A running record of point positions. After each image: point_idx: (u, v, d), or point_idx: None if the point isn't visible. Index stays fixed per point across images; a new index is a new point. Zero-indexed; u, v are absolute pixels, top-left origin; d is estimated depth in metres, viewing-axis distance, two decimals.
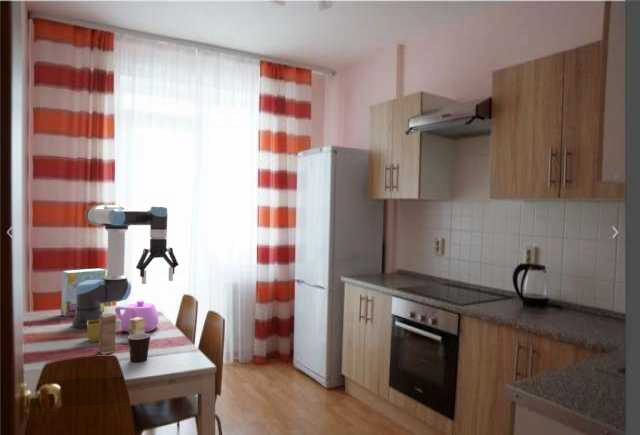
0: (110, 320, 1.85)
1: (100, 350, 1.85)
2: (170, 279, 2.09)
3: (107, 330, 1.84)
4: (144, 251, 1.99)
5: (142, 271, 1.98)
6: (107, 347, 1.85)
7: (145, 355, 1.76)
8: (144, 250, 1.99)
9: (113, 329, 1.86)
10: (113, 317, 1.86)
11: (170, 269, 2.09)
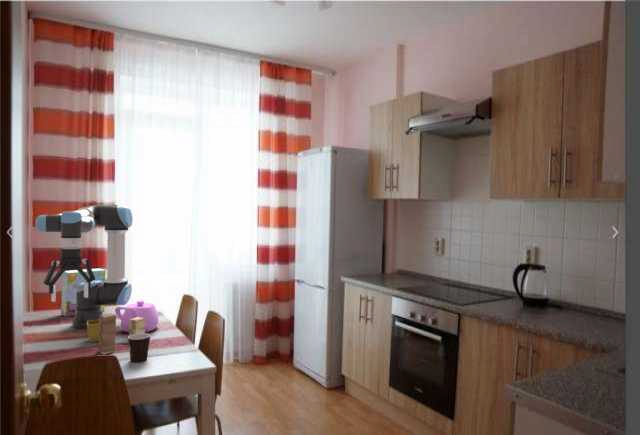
0: (110, 320, 1.85)
1: (100, 350, 1.85)
2: (85, 295, 1.83)
3: (107, 330, 1.84)
4: (52, 264, 1.73)
5: (51, 287, 1.73)
6: (107, 347, 1.85)
7: (145, 355, 1.76)
8: (52, 263, 1.74)
9: (113, 329, 1.86)
10: (113, 317, 1.86)
11: (85, 284, 1.83)
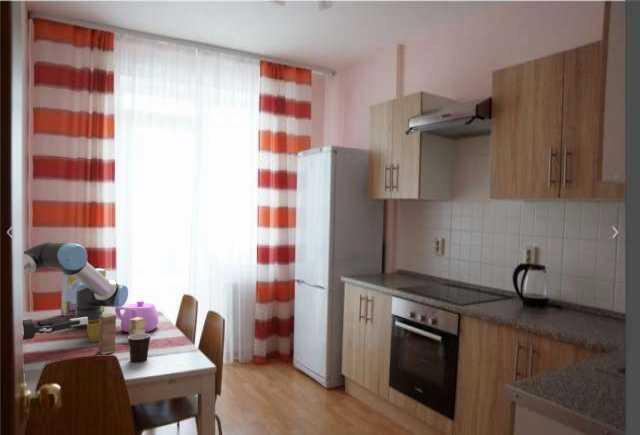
0: (110, 320, 1.85)
1: (100, 350, 1.85)
2: None
3: (107, 330, 1.84)
4: None
5: None
6: (107, 347, 1.85)
7: (145, 355, 1.76)
8: None
9: (113, 329, 1.86)
10: (113, 317, 1.86)
11: None
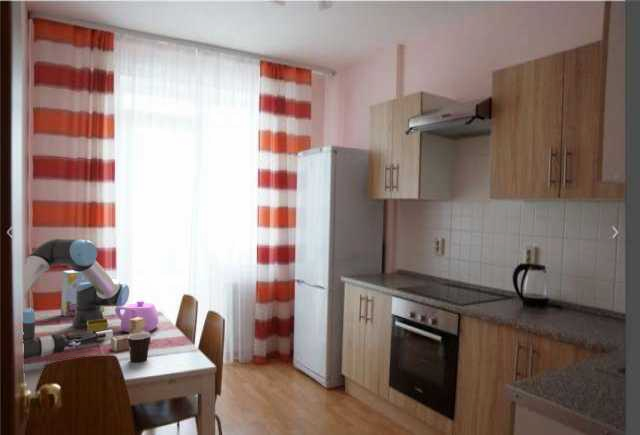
0: None
1: (114, 338, 1.90)
2: None
3: None
4: None
5: None
6: (121, 343, 1.89)
7: (145, 355, 1.76)
8: None
9: None
10: None
11: None
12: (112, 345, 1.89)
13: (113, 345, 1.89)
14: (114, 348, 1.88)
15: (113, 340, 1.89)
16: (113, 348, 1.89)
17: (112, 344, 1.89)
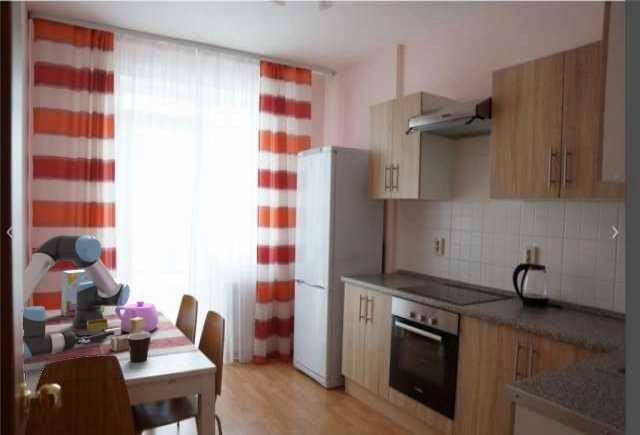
0: None
1: (114, 338, 1.90)
2: None
3: None
4: None
5: None
6: (121, 343, 1.89)
7: (145, 355, 1.76)
8: None
9: None
10: None
11: None
12: (112, 345, 1.89)
13: (112, 345, 1.89)
14: (114, 348, 1.88)
15: (113, 340, 1.89)
16: (113, 348, 1.89)
17: (112, 344, 1.89)
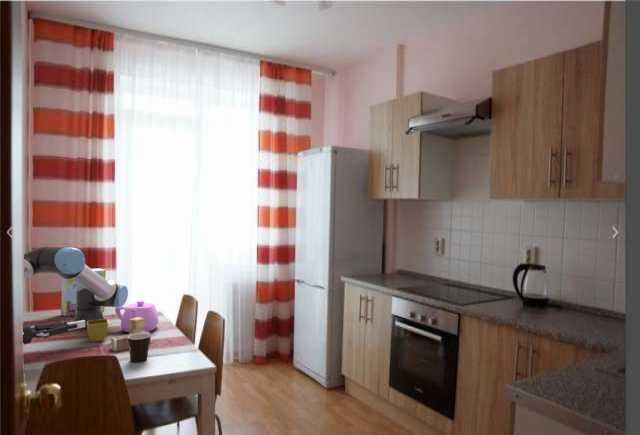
0: None
1: (114, 338, 1.90)
2: None
3: None
4: None
5: None
6: (121, 343, 1.89)
7: (145, 355, 1.76)
8: None
9: None
10: None
11: None
12: (112, 345, 1.89)
13: (112, 345, 1.89)
14: (114, 348, 1.88)
15: (113, 340, 1.89)
16: (113, 348, 1.89)
17: (112, 344, 1.89)
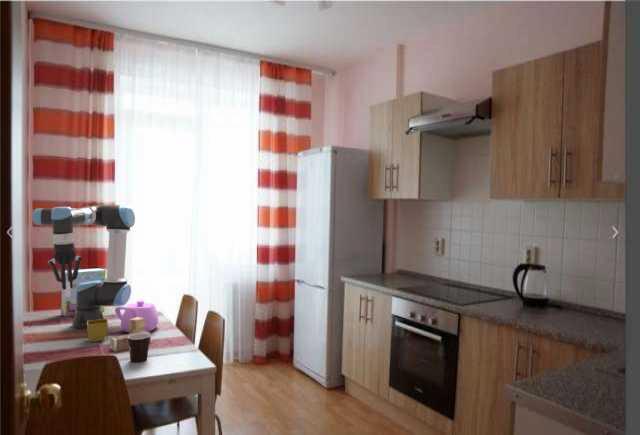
0: None
1: (114, 338, 1.90)
2: None
3: None
4: (50, 264, 1.79)
5: (63, 283, 1.83)
6: (121, 343, 1.89)
7: (145, 355, 1.76)
8: (49, 263, 1.79)
9: None
10: None
11: None
12: (112, 345, 1.89)
13: (112, 345, 1.89)
14: (114, 348, 1.88)
15: (113, 340, 1.89)
16: (113, 348, 1.89)
17: (112, 344, 1.89)
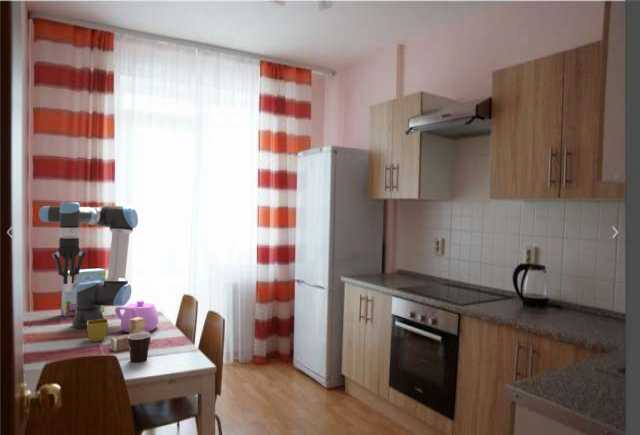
0: None
1: (114, 338, 1.90)
2: None
3: None
4: (54, 257, 1.81)
5: (65, 278, 1.84)
6: (121, 343, 1.89)
7: (145, 355, 1.76)
8: (53, 256, 1.81)
9: None
10: None
11: None
12: (112, 345, 1.89)
13: (112, 345, 1.89)
14: (114, 348, 1.88)
15: (113, 340, 1.89)
16: (113, 348, 1.89)
17: (112, 344, 1.89)
